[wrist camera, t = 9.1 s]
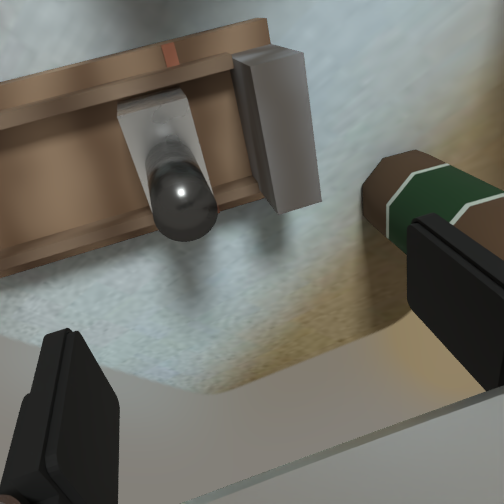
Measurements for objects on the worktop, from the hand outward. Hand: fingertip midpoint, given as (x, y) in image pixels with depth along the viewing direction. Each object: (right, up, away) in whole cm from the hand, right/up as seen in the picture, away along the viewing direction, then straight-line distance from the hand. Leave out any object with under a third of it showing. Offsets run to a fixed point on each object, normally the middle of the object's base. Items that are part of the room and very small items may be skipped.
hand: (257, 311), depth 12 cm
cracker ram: (-6, +9, +17) cm, 20 cm away
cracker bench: (-10, +9, +19) cm, 23 cm away
